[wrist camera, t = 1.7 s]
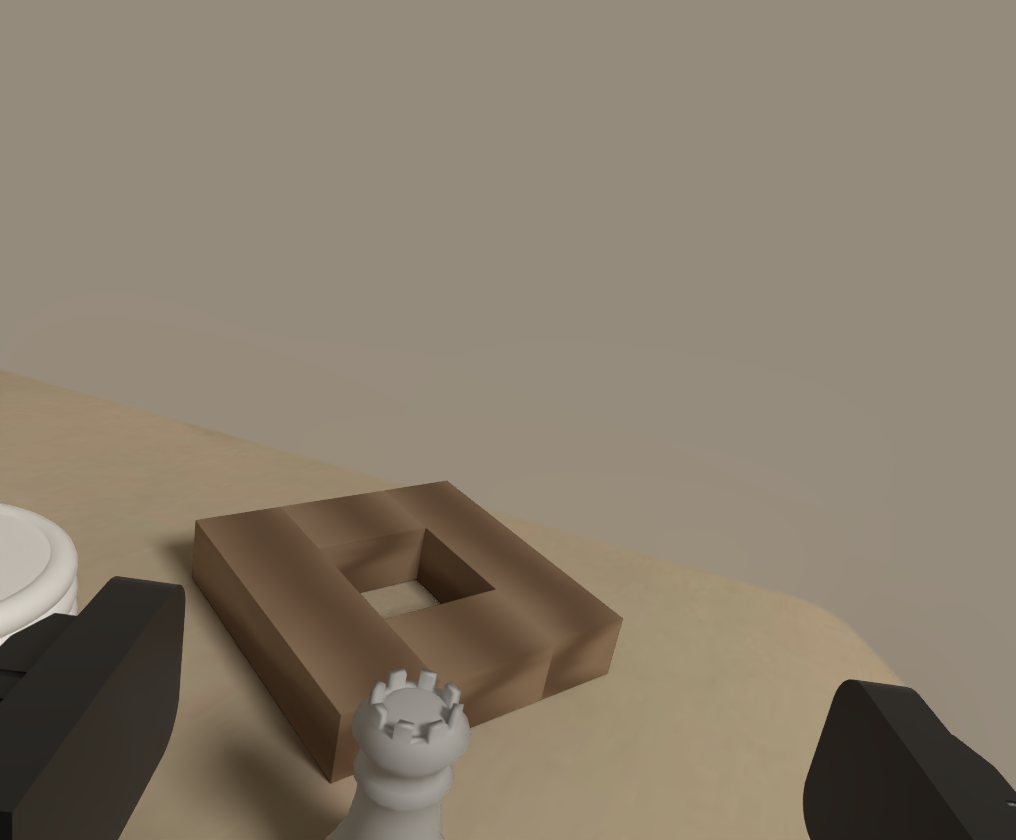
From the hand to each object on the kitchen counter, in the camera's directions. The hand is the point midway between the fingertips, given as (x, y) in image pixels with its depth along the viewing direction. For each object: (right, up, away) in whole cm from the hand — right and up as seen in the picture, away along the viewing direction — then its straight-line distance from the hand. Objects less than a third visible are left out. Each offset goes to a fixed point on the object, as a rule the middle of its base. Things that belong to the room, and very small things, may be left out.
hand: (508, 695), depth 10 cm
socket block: (-5, -6, +28) cm, 29 cm away
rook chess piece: (-4, -12, +15) cm, 19 cm away
